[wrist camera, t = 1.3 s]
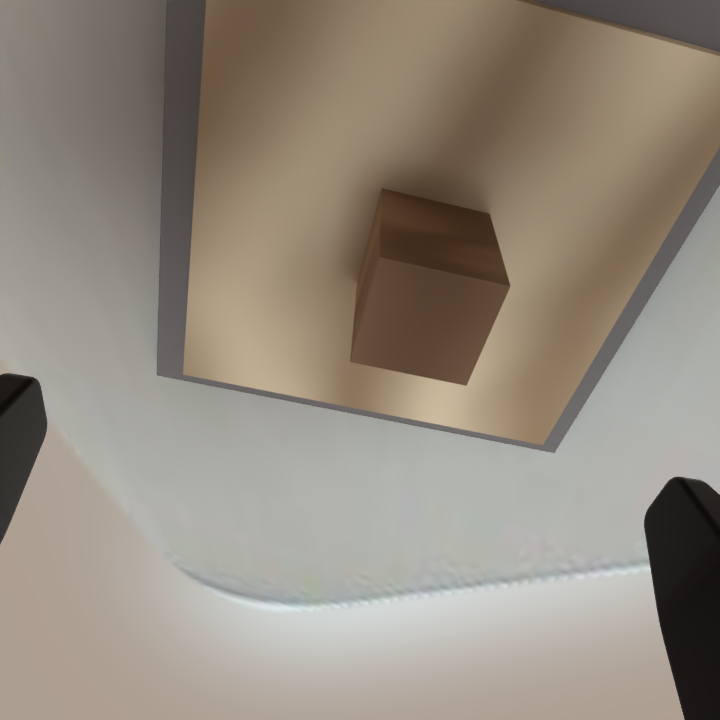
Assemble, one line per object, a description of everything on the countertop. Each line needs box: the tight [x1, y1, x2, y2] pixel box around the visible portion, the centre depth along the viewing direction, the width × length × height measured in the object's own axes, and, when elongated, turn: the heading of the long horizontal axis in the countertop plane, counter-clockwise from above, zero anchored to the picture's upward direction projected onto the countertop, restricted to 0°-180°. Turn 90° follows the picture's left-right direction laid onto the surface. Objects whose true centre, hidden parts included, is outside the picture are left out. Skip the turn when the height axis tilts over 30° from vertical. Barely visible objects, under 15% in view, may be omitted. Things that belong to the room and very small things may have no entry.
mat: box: [157, 0, 720, 453], centre depth 20 cm, size 16×16×1 cm
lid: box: [183, 0, 720, 445], centre depth 17 cm, size 14×14×5 cm
